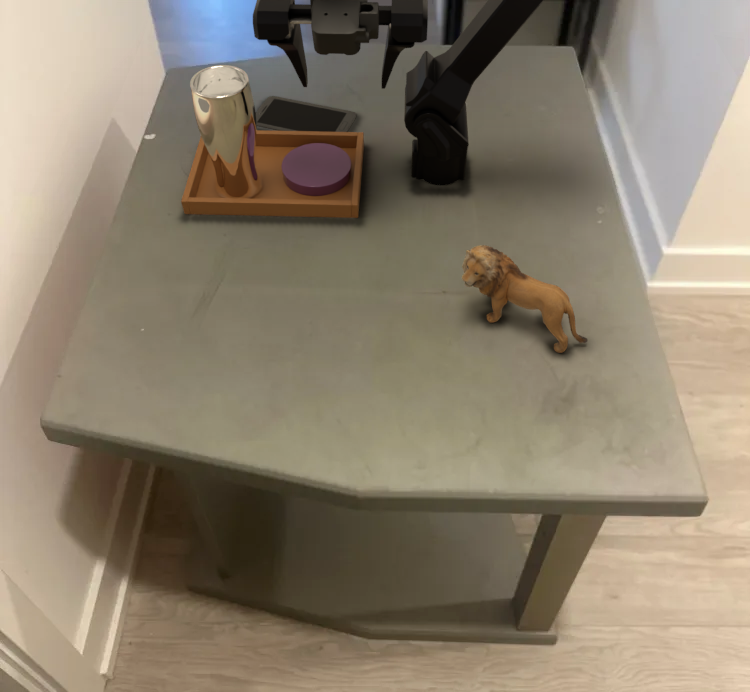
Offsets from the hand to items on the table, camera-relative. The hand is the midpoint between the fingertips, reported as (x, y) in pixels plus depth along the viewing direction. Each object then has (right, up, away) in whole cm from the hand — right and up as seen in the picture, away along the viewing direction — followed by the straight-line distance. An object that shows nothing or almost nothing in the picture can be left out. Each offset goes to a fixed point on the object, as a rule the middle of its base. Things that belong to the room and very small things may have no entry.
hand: (344, 86), depth 87 cm
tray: (-9, -9, +9) cm, 16 cm away
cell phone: (-6, +1, +17) cm, 18 cm away
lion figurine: (+19, -28, -6) cm, 35 cm away
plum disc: (-4, -8, +9) cm, 13 cm away
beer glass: (-14, -10, +8) cm, 19 cm away
